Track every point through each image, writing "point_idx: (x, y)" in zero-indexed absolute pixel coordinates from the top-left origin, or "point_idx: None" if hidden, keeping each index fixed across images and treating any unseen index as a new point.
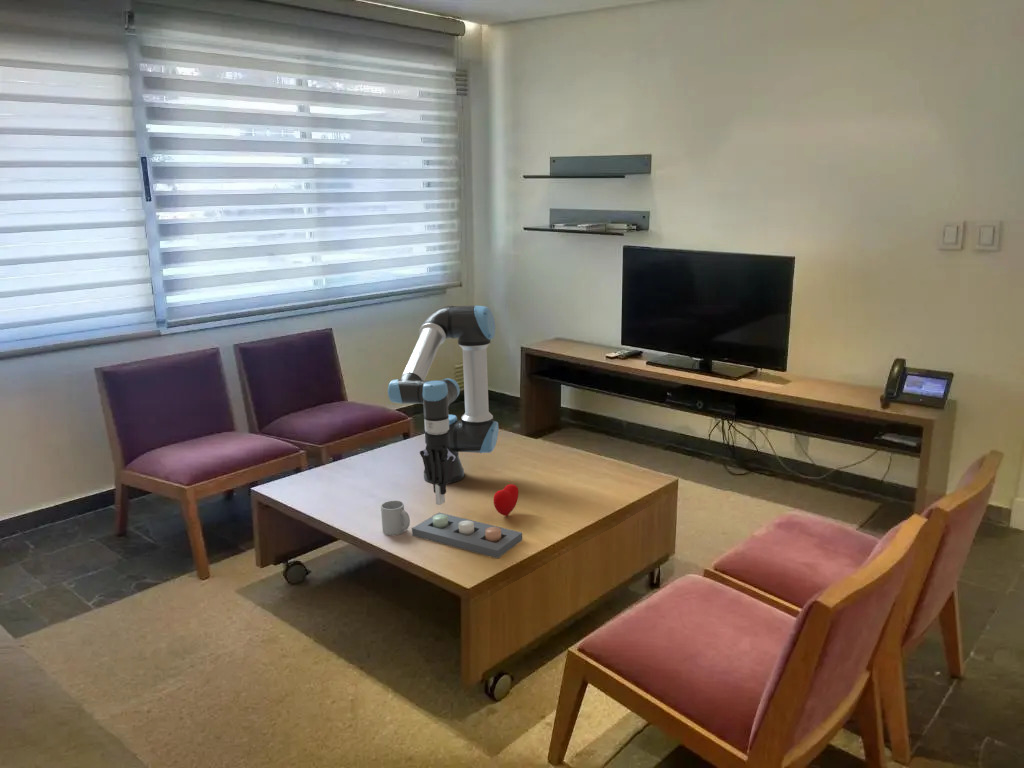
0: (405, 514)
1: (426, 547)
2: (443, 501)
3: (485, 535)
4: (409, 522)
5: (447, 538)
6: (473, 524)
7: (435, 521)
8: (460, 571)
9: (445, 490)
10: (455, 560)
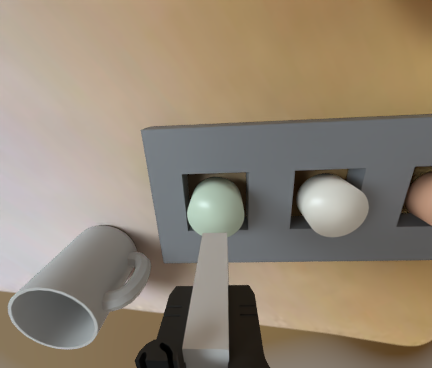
0: (130, 302)
1: (245, 275)
2: (227, 248)
3: (421, 218)
4: (148, 272)
5: (293, 259)
6: (368, 204)
7: None
8: (382, 317)
9: (256, 312)
10: (348, 290)
